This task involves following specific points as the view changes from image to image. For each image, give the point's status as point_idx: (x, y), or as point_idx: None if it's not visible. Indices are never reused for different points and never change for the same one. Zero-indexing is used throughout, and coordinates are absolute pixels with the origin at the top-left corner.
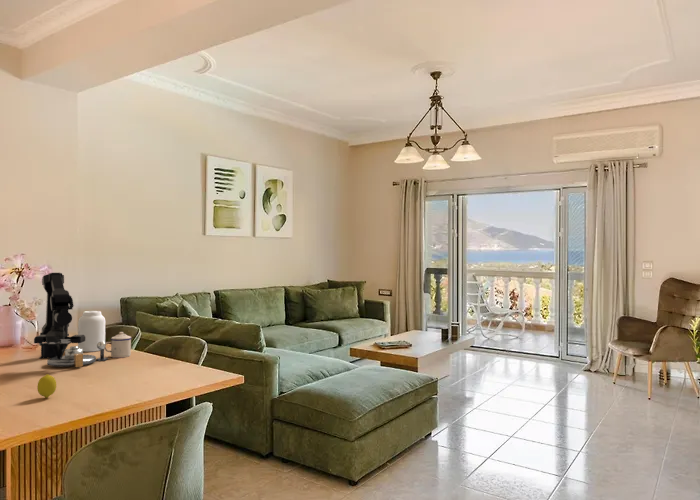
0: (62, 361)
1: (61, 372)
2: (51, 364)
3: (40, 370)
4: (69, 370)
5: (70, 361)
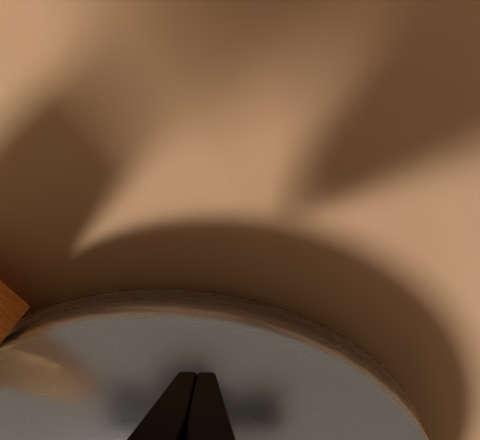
0: None
1: (36, 17)
2: (336, 347)
3: (428, 198)
4: (9, 162)
5: (92, 397)
